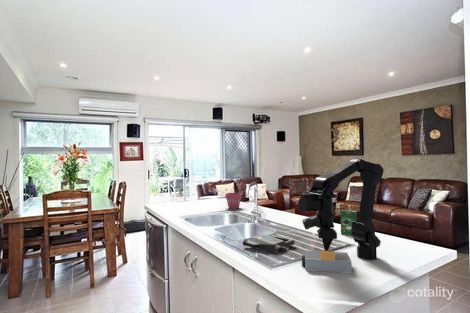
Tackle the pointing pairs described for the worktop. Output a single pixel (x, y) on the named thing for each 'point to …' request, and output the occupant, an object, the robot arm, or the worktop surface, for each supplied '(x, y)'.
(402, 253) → the worktop surface
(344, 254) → the cabinet housing
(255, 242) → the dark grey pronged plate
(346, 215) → the coffee box
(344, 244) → the worktop surface
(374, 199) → the robot arm
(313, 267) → the door
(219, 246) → the worktop surface
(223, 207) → the worktop surface
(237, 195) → the plant pot
